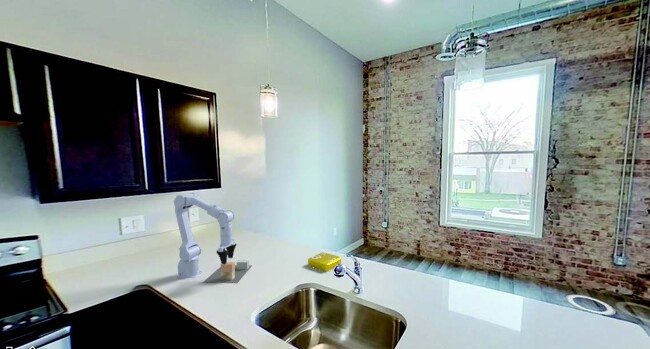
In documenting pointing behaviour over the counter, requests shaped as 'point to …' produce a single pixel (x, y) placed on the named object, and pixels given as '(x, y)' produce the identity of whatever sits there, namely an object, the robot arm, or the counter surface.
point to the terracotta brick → (228, 267)
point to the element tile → (324, 261)
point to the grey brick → (243, 264)
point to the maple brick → (227, 275)
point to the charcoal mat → (217, 279)
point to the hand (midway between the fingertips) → (227, 260)
